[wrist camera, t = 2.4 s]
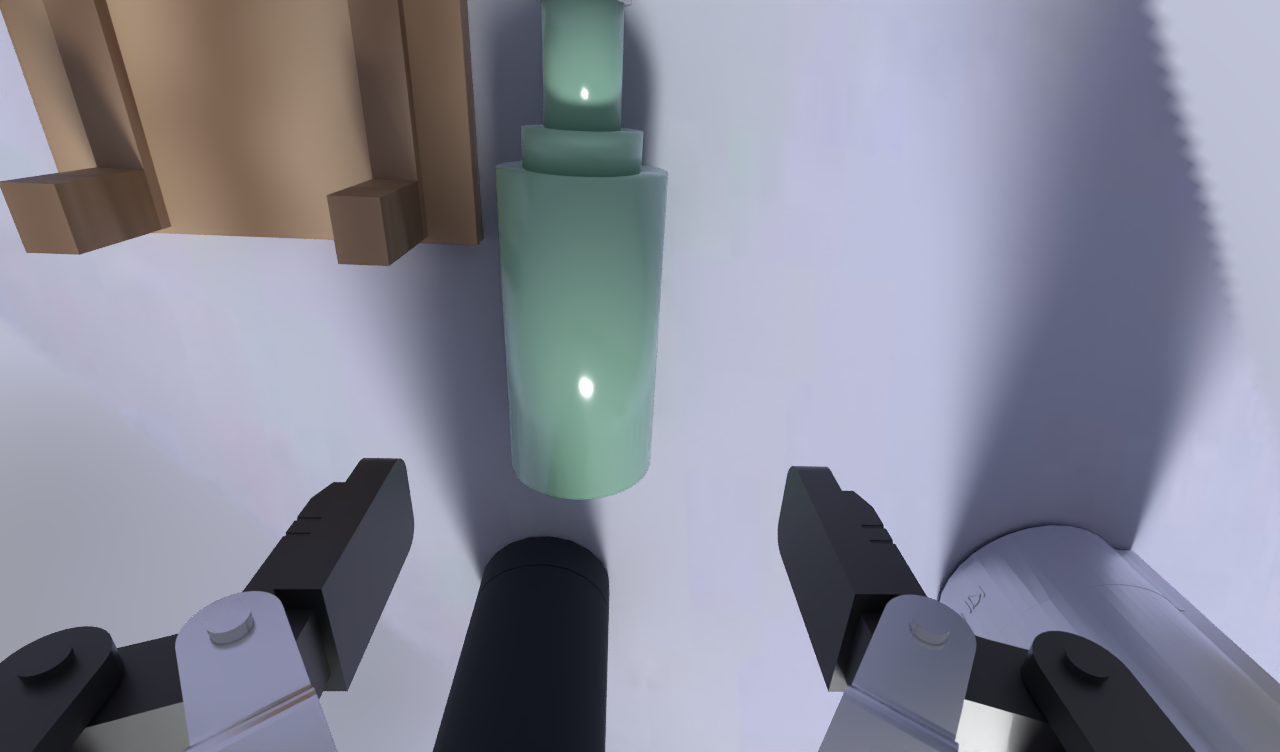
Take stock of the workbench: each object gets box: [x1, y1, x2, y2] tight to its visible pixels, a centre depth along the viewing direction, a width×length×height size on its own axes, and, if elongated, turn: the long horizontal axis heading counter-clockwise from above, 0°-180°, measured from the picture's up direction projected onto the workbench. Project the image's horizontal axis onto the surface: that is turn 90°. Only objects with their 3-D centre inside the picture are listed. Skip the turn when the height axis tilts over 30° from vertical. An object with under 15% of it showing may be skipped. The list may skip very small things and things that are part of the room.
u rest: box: [0, 0, 483, 266], centre depth 18 cm, size 14×11×5 cm
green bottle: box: [495, 0, 668, 500], centre depth 20 cm, size 16×6×6 cm, turn 177°
